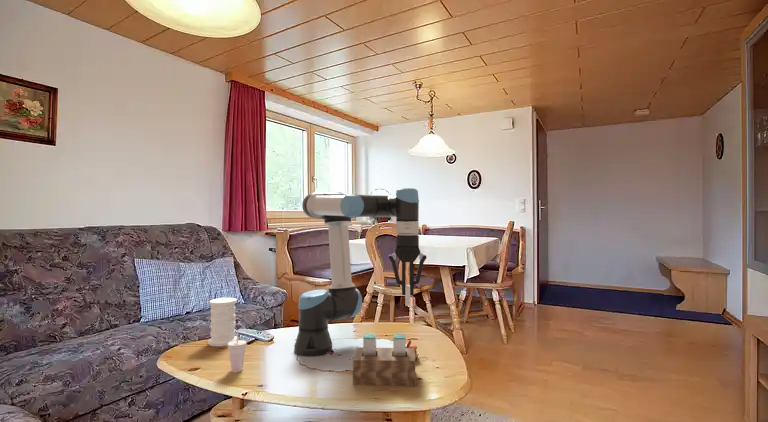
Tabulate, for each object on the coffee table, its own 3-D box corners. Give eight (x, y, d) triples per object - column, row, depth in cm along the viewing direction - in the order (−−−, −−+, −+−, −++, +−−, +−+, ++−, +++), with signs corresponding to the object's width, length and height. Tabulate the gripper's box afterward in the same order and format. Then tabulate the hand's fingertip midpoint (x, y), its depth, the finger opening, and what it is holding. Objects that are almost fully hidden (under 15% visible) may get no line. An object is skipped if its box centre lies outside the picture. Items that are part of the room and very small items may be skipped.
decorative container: (231, 346, 163) (231, 303, 164) (203, 346, 164) (203, 303, 164) (241, 337, 175) (241, 297, 175) (215, 337, 175) (215, 297, 175)
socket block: (352, 385, 126) (352, 360, 126) (357, 370, 138) (356, 347, 138) (415, 386, 125) (415, 360, 125) (414, 371, 137) (414, 348, 137)
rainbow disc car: (416, 364, 144) (416, 344, 144) (390, 362, 145) (390, 342, 146) (419, 356, 152) (418, 337, 152) (394, 354, 154) (394, 335, 154)
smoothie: (228, 375, 134) (228, 334, 134) (226, 368, 140) (226, 329, 140) (248, 371, 137) (248, 331, 137) (245, 365, 142) (245, 326, 143)
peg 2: (393, 362, 129) (393, 337, 129) (393, 357, 133) (393, 334, 133) (405, 362, 129) (405, 337, 129) (405, 357, 133) (405, 334, 133)
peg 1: (363, 361, 130) (363, 337, 130) (364, 357, 134) (364, 333, 134) (375, 361, 129) (375, 337, 130) (376, 357, 133) (376, 333, 134)
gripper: (387, 235, 128) (387, 307, 128) (427, 234, 128) (428, 307, 127) (388, 233, 136) (388, 302, 135) (426, 233, 135) (426, 302, 135)
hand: (407, 304), depth 131 cm, fingers closed
